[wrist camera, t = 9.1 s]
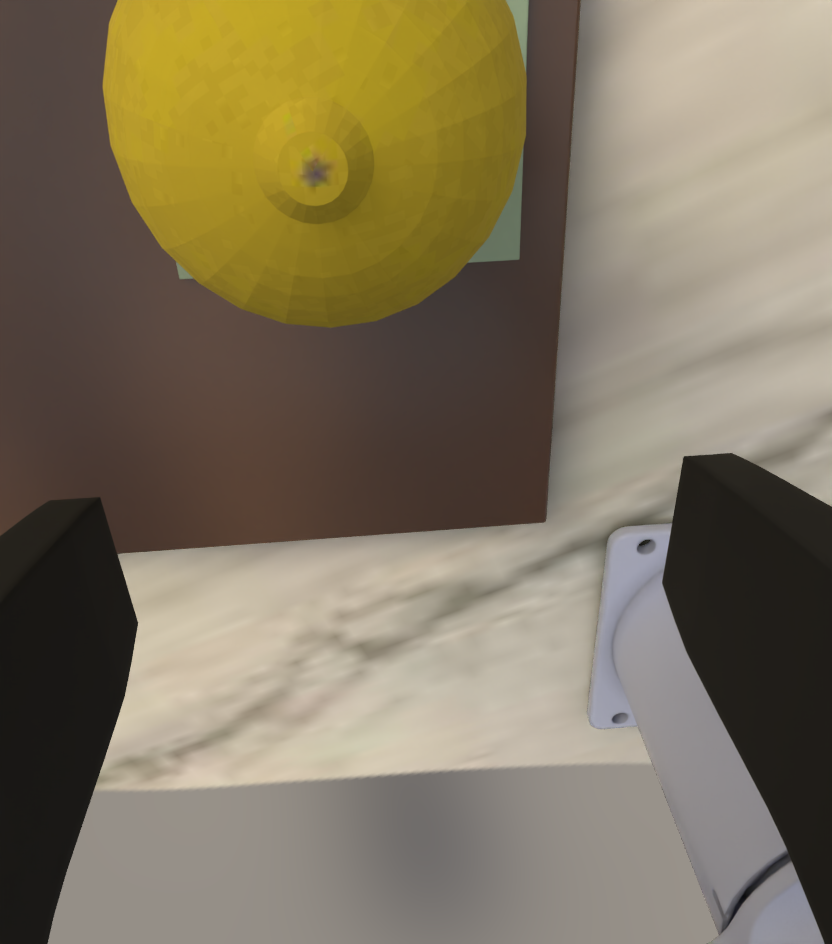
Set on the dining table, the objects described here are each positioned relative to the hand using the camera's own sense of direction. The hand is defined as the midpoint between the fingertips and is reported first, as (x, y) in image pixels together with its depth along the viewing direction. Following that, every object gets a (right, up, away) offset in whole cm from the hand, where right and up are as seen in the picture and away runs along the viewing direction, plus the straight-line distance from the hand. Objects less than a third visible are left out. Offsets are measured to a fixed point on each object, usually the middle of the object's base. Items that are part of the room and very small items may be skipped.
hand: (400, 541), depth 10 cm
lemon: (-1, +8, +4) cm, 9 cm away
